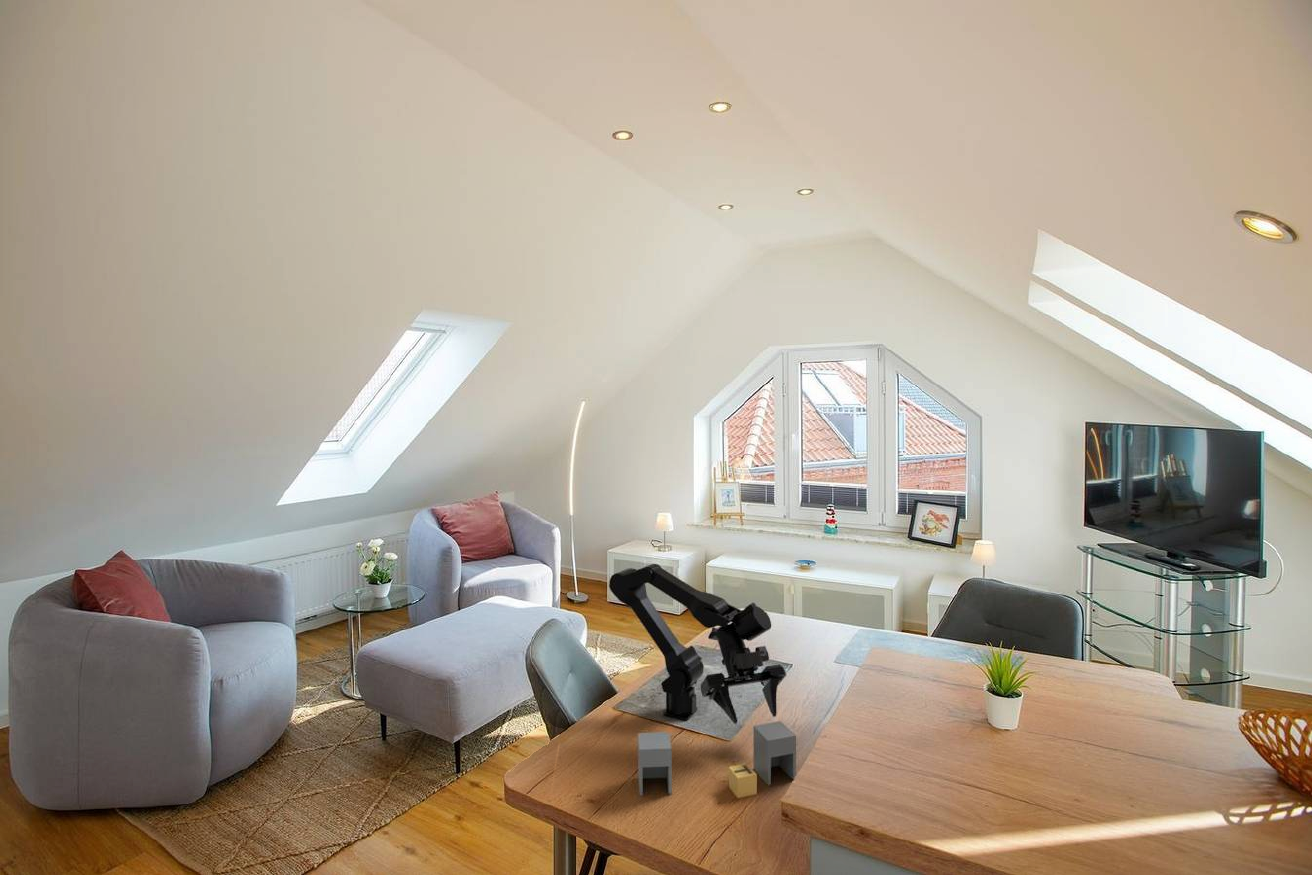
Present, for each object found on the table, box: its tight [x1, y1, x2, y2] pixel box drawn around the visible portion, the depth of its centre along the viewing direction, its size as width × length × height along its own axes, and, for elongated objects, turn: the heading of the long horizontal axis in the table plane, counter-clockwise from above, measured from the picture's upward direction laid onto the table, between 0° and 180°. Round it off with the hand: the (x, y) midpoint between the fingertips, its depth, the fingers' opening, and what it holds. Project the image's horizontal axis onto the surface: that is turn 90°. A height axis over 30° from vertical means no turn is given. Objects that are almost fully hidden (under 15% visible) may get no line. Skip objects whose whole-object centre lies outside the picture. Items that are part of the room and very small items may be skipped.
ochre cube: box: [728, 763, 758, 799], centre depth 125 cm, size 4×4×4 cm
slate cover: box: [637, 731, 673, 797], centre depth 127 cm, size 6×6×9 cm
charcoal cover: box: [753, 720, 797, 786], centre depth 130 cm, size 6×6×9 cm
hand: (755, 719), depth 138 cm, fingers open, 9 cm apart
